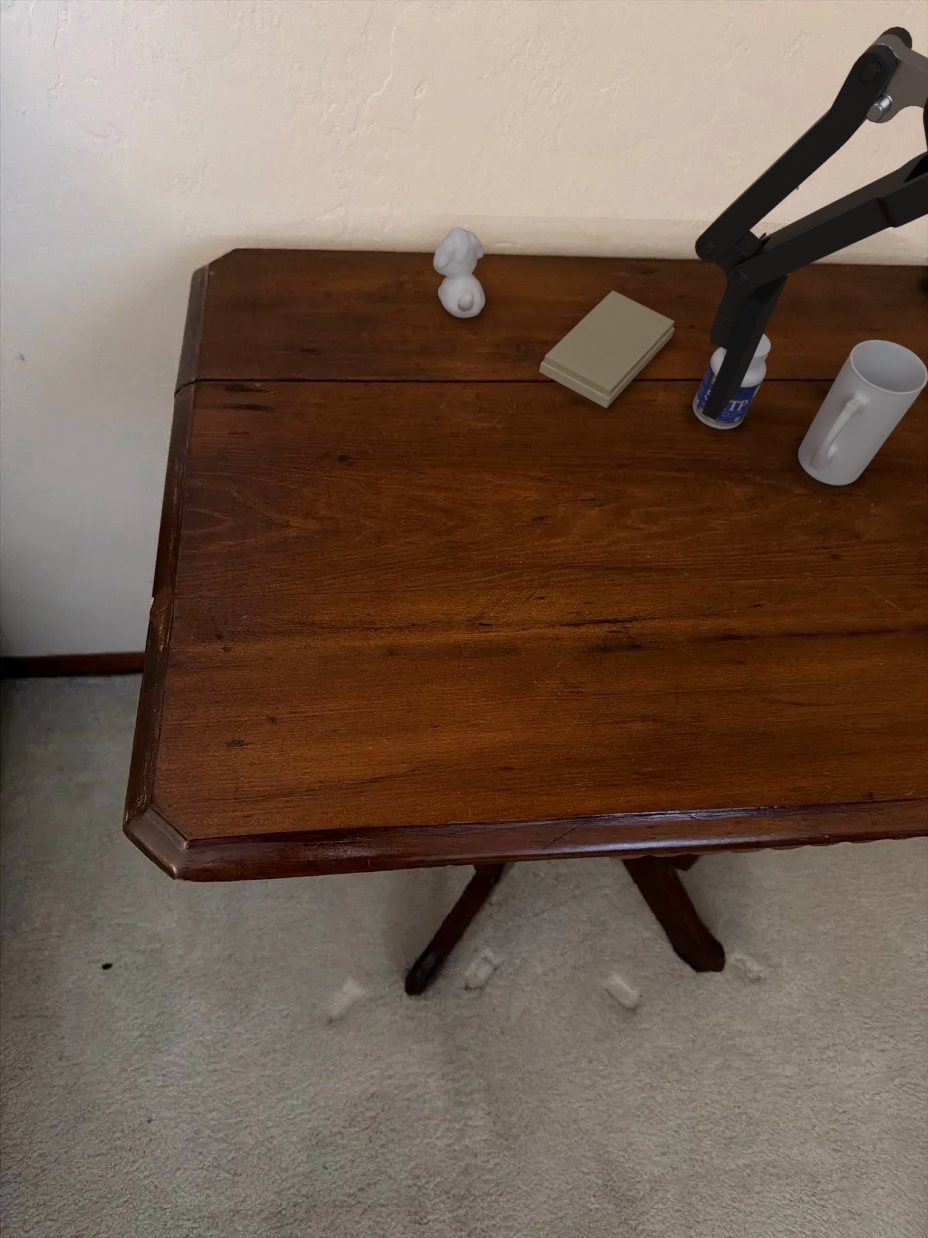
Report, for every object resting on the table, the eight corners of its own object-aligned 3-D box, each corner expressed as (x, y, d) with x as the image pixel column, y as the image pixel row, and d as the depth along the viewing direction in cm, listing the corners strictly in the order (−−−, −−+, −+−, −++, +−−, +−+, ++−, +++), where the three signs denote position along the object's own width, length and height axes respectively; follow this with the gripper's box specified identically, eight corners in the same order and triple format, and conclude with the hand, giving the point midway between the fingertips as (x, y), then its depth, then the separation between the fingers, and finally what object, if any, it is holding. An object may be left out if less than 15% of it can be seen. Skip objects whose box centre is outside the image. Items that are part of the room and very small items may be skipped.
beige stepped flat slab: (671, 337, 94) (677, 320, 92) (606, 408, 87) (611, 392, 85) (607, 304, 96) (612, 288, 94) (538, 371, 89) (542, 355, 87)
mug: (817, 426, 88) (875, 328, 78) (875, 464, 86) (942, 368, 76) (762, 476, 84) (815, 380, 74) (822, 517, 82) (885, 423, 72)
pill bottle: (689, 423, 87) (718, 352, 80) (694, 388, 90) (723, 316, 82) (742, 436, 87) (776, 365, 79) (745, 400, 89) (779, 329, 82)
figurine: (464, 278, 96) (471, 210, 90) (499, 322, 93) (509, 255, 86) (420, 289, 95) (424, 221, 88) (454, 335, 91) (461, 267, 84)
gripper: (1736, 26, 22) (1137, 544, 40) (817, -228, 29) (654, 314, 46) (1781, 150, 19) (1100, 659, 36) (718, -173, 25) (582, 392, 43)
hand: (849, 466), depth 41 cm, fingers open, 13 cm apart
